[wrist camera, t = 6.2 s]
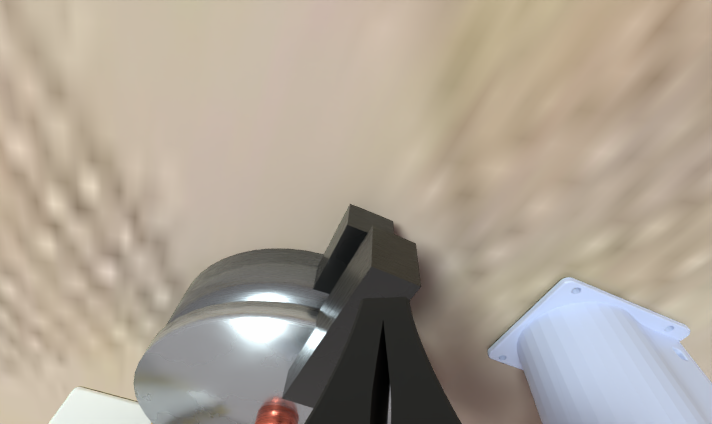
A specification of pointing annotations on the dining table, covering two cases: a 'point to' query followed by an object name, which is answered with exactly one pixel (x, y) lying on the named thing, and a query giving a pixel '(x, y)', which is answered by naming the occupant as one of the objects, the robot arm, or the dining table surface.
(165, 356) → the cooker lid
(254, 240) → the dining table surface
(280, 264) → the cooker pot
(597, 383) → the robot arm
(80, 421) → the medicine bottle
